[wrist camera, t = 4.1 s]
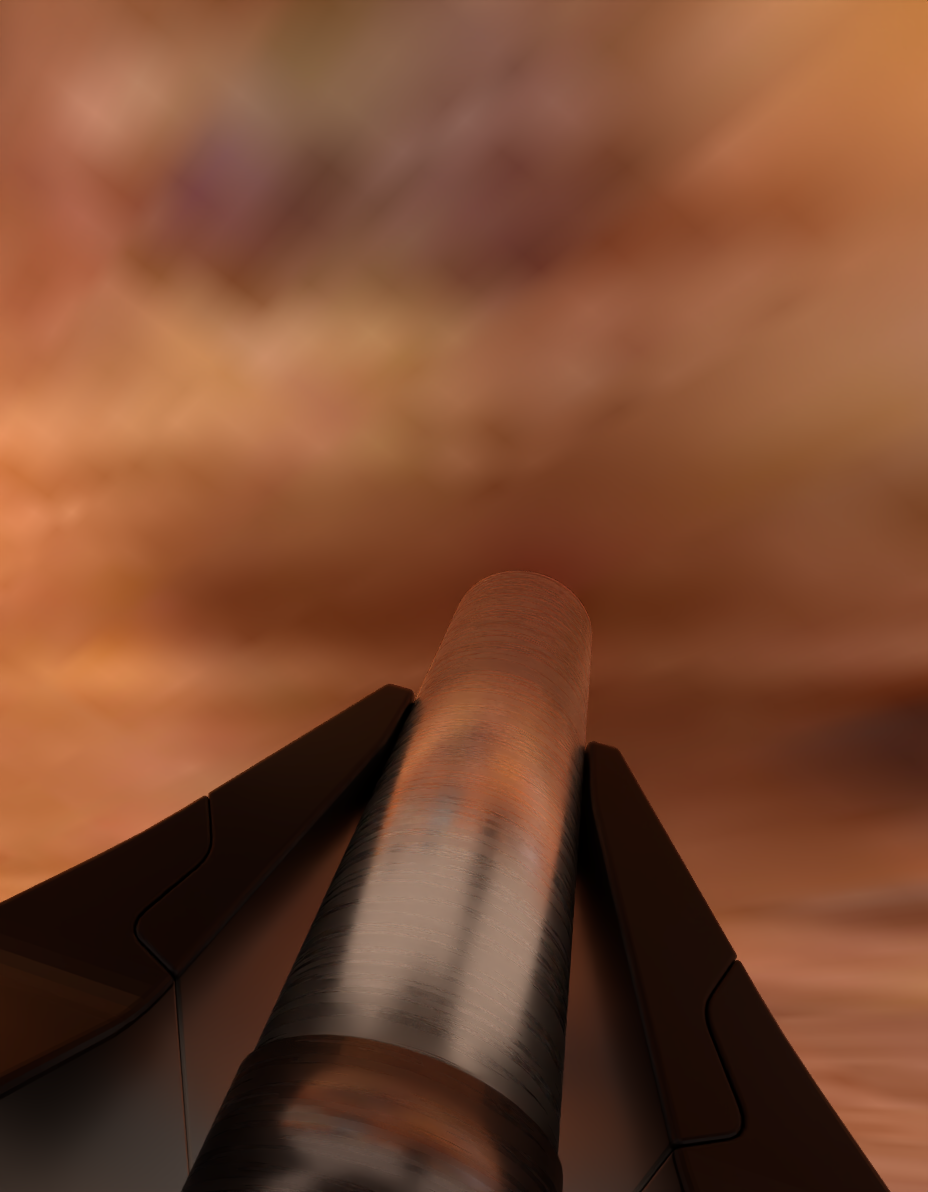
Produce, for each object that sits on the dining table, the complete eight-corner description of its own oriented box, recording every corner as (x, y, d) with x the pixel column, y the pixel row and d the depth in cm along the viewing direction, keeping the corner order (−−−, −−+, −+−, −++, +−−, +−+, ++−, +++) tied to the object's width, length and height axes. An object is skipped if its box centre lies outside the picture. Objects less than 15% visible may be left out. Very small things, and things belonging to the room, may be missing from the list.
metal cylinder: (613, 589, 11) (604, 1331, 3) (573, 707, 13) (501, 1437, 5) (465, 551, 12) (148, 1161, 4) (440, 671, 13) (168, 1307, 5)
